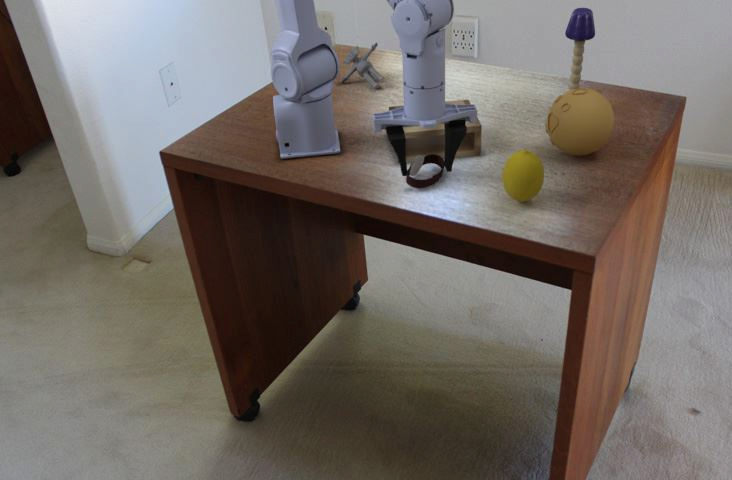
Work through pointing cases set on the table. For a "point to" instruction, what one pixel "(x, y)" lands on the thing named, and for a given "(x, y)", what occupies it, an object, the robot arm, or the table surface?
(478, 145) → the shelf
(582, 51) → the toy lamp
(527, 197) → the lemon
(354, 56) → the gray toy figurine
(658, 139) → the table surface
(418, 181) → the watch
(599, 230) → the table surface
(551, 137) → the stress ball
